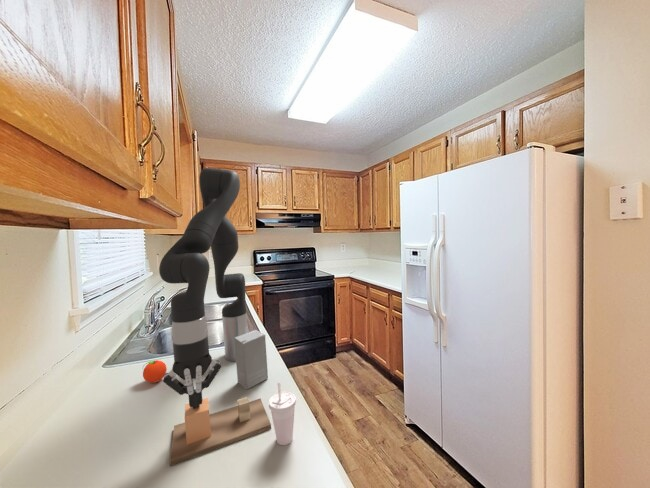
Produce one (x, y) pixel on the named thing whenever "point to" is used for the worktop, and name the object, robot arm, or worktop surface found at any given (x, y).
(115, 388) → the worktop surface
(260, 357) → the skincare box
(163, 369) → the tomato
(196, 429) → the light orange block
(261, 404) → the post board
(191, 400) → the robot arm
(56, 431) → the worktop surface
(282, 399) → the smoothie
